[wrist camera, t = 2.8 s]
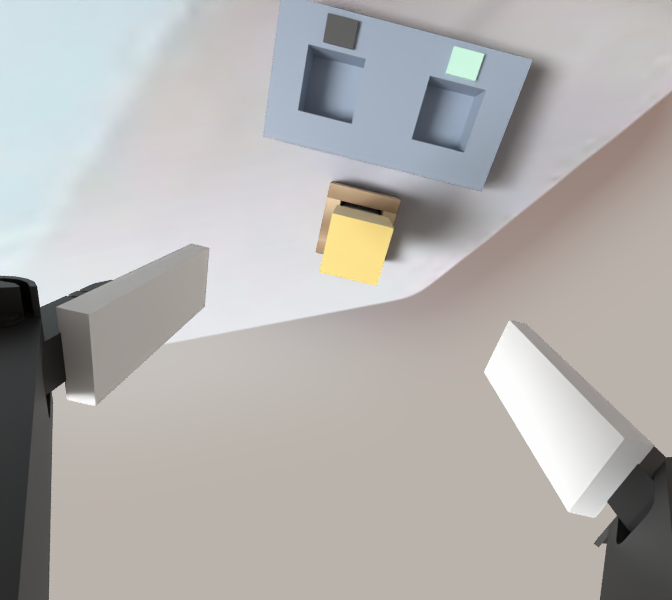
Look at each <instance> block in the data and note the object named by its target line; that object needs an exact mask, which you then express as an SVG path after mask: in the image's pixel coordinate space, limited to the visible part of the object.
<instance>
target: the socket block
mask: <svg viewBox="0 0 672 600" xmlns="http://www.w3.org/2000/svg"><path fill="white" fill-rule="evenodd" d="M532 61H533V60H532V59H528V58H524V57H521V56H517V55H513V54H509V53H505V52H502V51H498V50H494V49H490V48H486V47H483V46H479V45H475V44H471V43H467V42H464V41H460V40H456V39H452V38H448V37H445V36H441V35H437V34H433V33H429V32H426V31H422V30H418V29H414V28H410V27H407V26H403V25H399V24H395V23H391V22H388V21H384V20H380V19H376V18H372V17H369V16H365V15H361V14H357V13H353V12H350V11H346V10H342V9H338V8H335V7H331V6H327V5H323V4H319V3H316V2H312V1H308V0H280V6H279V14H278V22H277V30H276V38H275V46H274V54H273V62H272V70H271V78H270V86H269V94H268V102H267V110H266V118H265V125H264V133H263V137H267V138H271V139H274V140H278V141H282V142H286V143H290V144H294V145H298V146H302V147H306V148H310V149H314V150H318V151H322V152H326V153H330V154H334V155H338V156H342V157H346V158H350V159H354V160H358V161H362V162H366V163H370V164H374V165H378V166H382V167H386V168H390V169H394V170H398V171H402V172H406V173H410V174H414V175H418V176H422V177H426V178H430V179H434V180H438V181H442V182H446V183H450V184H454V185H458V186H462V187H466V188H470V189H474V190H478V191H482V189H483V186H484V184H485V181H486V179H487V176H488V174H489V171H490V168H491V166H492V163H493V161H494V158H495V156H496V153H497V150H498V148H499V145H500V143H501V140H502V138H503V135H504V132H505V130H506V127H507V125H508V122H509V120H510V117H511V115H512V112H513V109H514V107H515V104H516V102H517V99H518V97H519V94H520V91H521V89H522V86H523V84H524V81H525V79H526V76H527V73H528V71H529V68H530V66H531V63H532Z"/></svg>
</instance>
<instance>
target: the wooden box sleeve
mask: <svg viewBox="0 0 672 600" xmlns="http://www.w3.org/2000/svg"><path fill="white" fill-rule="evenodd" d="M341 201H345V202H349V203H353V204H357V205H361V206H365V207H369V208H373V209H377V210H381V213H380V215H381V216H385V217H388V218H389V220H390V222H391V223H392V225H393V226H394V222H395V219H396V216H397V212H398V209H399V205H400V202H401V200H400V199H399V198H397V197H393V196H389V195H385V194H381V193H377V192H373V191H369V190H365V189H361V188H357V187H353V186H349V185H345V184H341V183H337V182H333V181H332V182H331V183H330V186H329V191H328V196H327V201H326V205H325V210H324V215H323V220H322V224H321V229H320V234H319V239H318V243H317V248H316V252H317V253H321V254H324V249H325V244H326V240H327V235H328V231H329V226H330V222H331V217H332V213H333V211H334V209H335V207H336V206H337V205H341Z"/></svg>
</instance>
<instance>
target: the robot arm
mask: <svg viewBox="0 0 672 600" xmlns="http://www.w3.org/2000/svg"><path fill="white" fill-rule="evenodd" d="M208 257H209V248H207V247H203V246H199V245H194V244H190V245H188V246H185V247H183V248H181V249H179V250H177V251H175V252H173V253H170V254H168V255H166V256H164V257H162V258H160V259H158V260H155V261H153V262H151V263H149V264H147V265H145V266H143V267H140V268H138V269H136V270H134V271H132V272H130V273H128V274H125V275H123V276H121V277H119V278H117V279H115V280H108V281H104V282H99V283H94V284H92V285H89V286H87V287H85V288H83V289H80V291H76V292H74V293H71V294H69V296H65V297H62V298H60V299H58V300H56V301H53V302H51V303H49V304H47V305H45V306H42V307H40V304H39V297H38V290H37V285H36V284H35V282H33V281H31V280H29V279H26V278H21V277H14V276H0V600H49V561H50V516H51V515H50V514H51V469H52V425H53V423H52V422H53V398H52V391H53V390H54V389H55V388H57V387H58V386H59V385H61V384H62V383H63V382H65V387H66V395H67V400H71V401H76V402H80V403H85V404H89V405H94V406H96V405H97V404H98V403H99V402H101V400H103V399H104V398H105V397H106V396H107V395H108V394H109V393H110V392H111V391H113V390H114V389H115V388H116V387H117V386H118V385H119V384H120V383H121V382H123V381H124V380H125V378H127V377H128V376H129V375H130V374H131V373H132V372H133V371H134V370H136V369H137V368H138V367H139V366H140V365H141V364H142V363H143V362H144V361H146V360H147V359H148V358H149V357H150V356H151V355H152V354H153V353H154V352H155V351H156V350H158V349H159V348H160V347H161V346H162V345H163V344H164V343H165V342H166V341H167V340H168V339H170V338H171V337H172V336H173V335H174V334H175V333H176V332H177V331H178V330H179V329H181V328H182V327H183V326H184V325H185V324H186V323H187V322H188V321H189V320H190V319H191V318H193V317H194V316H195V315H196V314H197V313H198V312H199V311H200V310H201V309H202V308H204V307H205V296H206V283H207V270H208ZM484 373H485V375H486V376H487V378H488V380H489V381H490V383H491V384H492V386H493V388H494V389H495V391H496V393H497V394H498V396H499V398H500V399H501V401H502V403H503V404H504V406H505V408H506V409H507V411H508V412H509V414H510V416H511V417H512V419H513V421H514V423H515V424H516V426H517V428H518V429H519V431H520V433H521V434H522V436H523V438H524V439H525V441H526V442H527V444H528V446H529V447H530V449H531V451H532V452H533V454H534V456H535V457H536V459H537V461H538V462H539V464H540V466H541V467H542V469H543V471H544V472H545V474H546V476H547V477H548V479H549V480H550V482H551V484H552V486H553V487H554V489H555V490H556V492H557V494H558V496H559V497H560V499H561V501H562V502H563V504H564V505H565V507H566V509H567V510H568V512H570V513H574V514H579V515H583V516H588V517H592V518H595V517H596V516H597V515H598V514H599V513H600V511H601V510H602V509H603V508H604V507H605V505H606V504H607V503H609V505H610V506H611V508H612V509H613V510H614V512H615V513H616V514H617V517H616V518H615V519H614V520H613V521H612V522H611V523H610V525H609V526H608V527H607V528H606V529H605V530H604V532H603V533H602V534H601V535H600V536H599V537H598V539H597V540H596V541H595V543H594V544H595V545H597V546H598V547H599V546H600V545H601V544H602V543H607V547H606V556H605V563H604V571H603V579H602V587H601V597H600V600H672V457H667V458H666V457H665V456H664V455H663V454H662V453H661V452H660V451H659V450H658V449H657V448H655V447H654V445H653V444H652V443H651V442H650V441H649V440H648V439H647V438H646V437H645V436H644V435H643V434H642V433H641V432H640V431H639V430H638V429H637V428H635V427H634V426H633V425H632V424H631V423H630V422H629V421H628V420H627V419H626V418H625V417H624V416H623V415H622V414H621V413H620V412H619V411H617V410H616V409H615V408H614V407H613V406H612V405H611V404H610V403H609V402H608V401H607V400H606V399H605V398H604V397H603V396H602V395H601V394H600V393H599V392H597V390H595V389H594V388H593V387H592V386H591V385H590V384H589V383H588V382H587V381H586V380H585V379H584V378H583V377H582V376H581V375H579V374H578V372H576V371H575V370H574V369H573V368H572V367H571V366H570V365H569V364H568V363H567V362H566V361H565V360H564V359H563V358H562V357H561V356H560V355H559V354H558V353H557V352H555V351H554V350H553V349H552V348H551V347H550V346H549V345H548V344H547V343H546V342H545V341H544V340H543V339H542V338H541V337H540V336H539V335H537V334H536V333H535V332H534V331H533V330H532V329H531V328H530V327H529V326H528V325H527V324H525V323H520V322H516V321H512V320H509V322H508V324H507V326H506V328H505V330H504V332H503V334H502V336H501V338H500V340H499V342H498V344H497V346H496V348H495V350H494V353H493V354H492V356H491V359H490V361H489V363H488V365H487V367H486V369H485V371H484Z"/></svg>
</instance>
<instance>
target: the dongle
mask: <svg viewBox="0 0 672 600" xmlns="http://www.w3.org/2000/svg"><path fill="white" fill-rule="evenodd" d="M393 230H394V227H393V225H392V223H391V222H390V220H389V218H388V217H385V216H381V215H379V214H378V212H377V210H373V209H369V208H365V207H361V206H356V205H352V204H348V203H345V204H344V206H340V205H337V206H336V207H335V209H334V211H333V213H332V217H331V222H330V226H329V231H328V235H327V240H326V244H325V249H324V254H323V258H322V263H321V267H320V272H321V273H325V274H329V275H333V276H337V277H342V278H346V279H350V280H354V281H358V282H362V283H366V284H371V285H375V286H377V283H378V280H379V277H380V273H381V270H382V267H383V263H384V260H385V257H386V253H387V250H388V247H389V243H390V240H391V237H392V233H393Z"/></svg>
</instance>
